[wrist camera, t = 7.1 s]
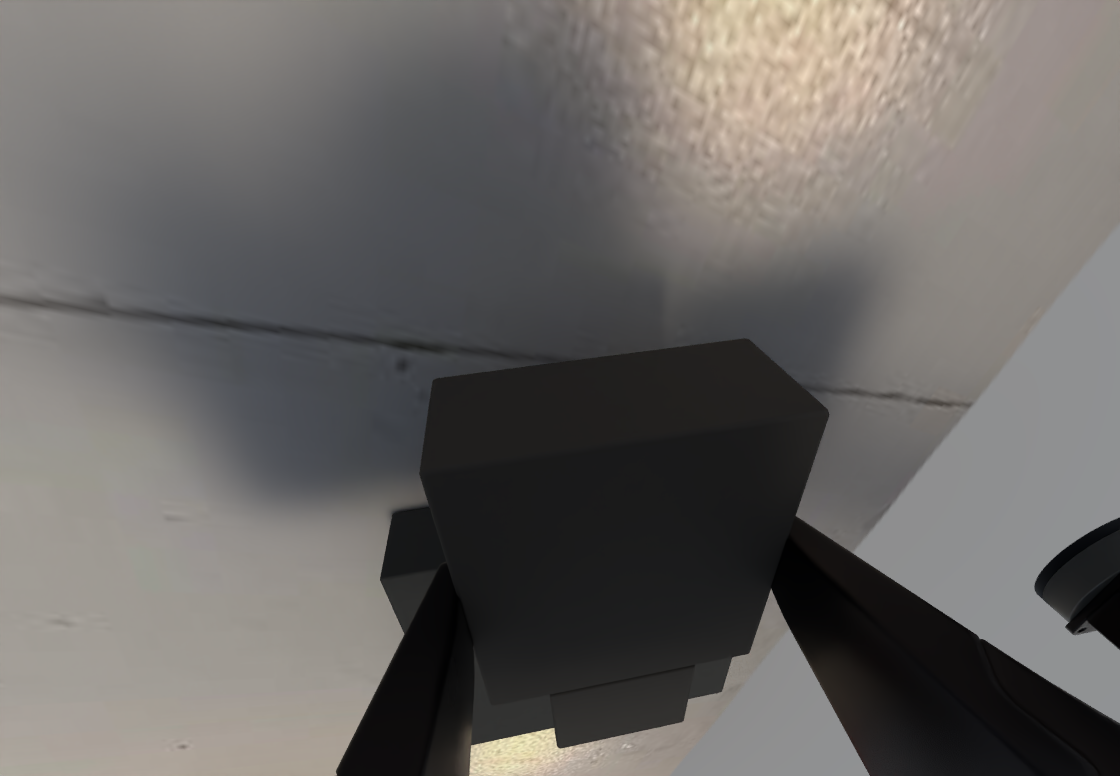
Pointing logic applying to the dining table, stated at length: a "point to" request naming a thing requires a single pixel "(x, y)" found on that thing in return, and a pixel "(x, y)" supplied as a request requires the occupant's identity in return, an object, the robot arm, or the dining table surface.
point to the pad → (616, 521)
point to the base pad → (406, 583)
